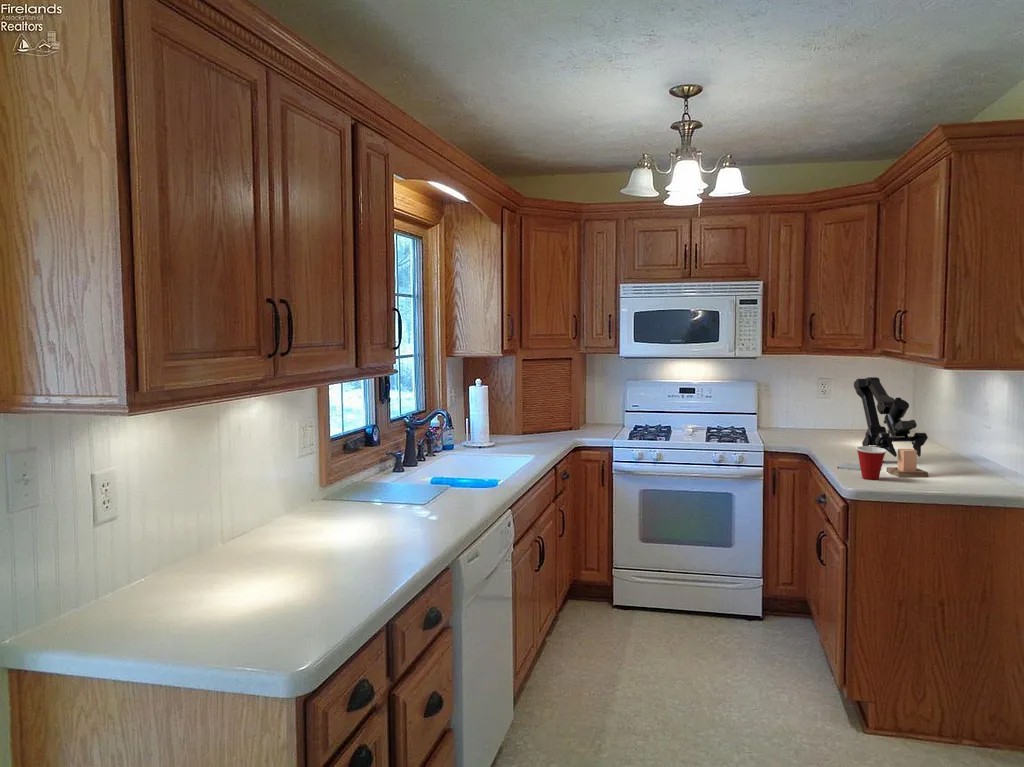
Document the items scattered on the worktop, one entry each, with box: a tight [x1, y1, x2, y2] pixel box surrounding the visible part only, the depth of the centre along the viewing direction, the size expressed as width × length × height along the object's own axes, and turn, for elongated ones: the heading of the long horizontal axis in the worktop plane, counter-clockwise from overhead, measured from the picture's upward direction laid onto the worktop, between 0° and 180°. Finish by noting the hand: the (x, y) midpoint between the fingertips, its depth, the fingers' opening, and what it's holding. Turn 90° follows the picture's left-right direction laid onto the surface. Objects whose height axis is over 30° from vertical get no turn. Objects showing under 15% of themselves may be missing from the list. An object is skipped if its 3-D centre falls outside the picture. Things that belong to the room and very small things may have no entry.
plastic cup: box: [855, 445, 888, 481], centre depth 288 cm, size 11×11×12 cm
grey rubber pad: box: [836, 462, 861, 471], centre depth 312 cm, size 11×11×1 cm
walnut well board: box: [885, 466, 929, 478], centre depth 295 cm, size 11×11×2 cm
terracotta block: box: [897, 448, 918, 471], centre depth 295 cm, size 5×5×10 cm
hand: (907, 456), depth 294 cm, fingers open, 9 cm apart
